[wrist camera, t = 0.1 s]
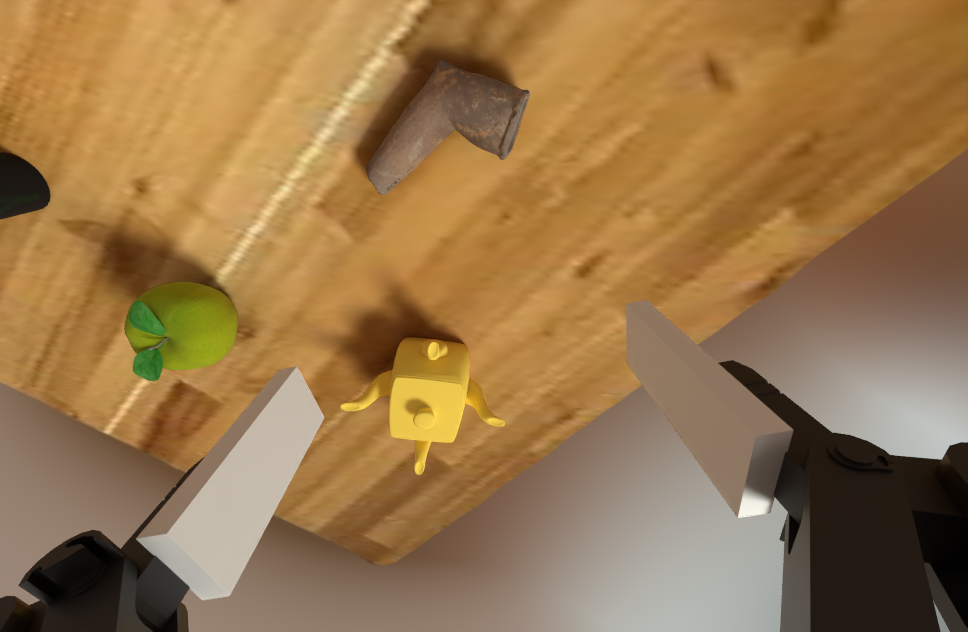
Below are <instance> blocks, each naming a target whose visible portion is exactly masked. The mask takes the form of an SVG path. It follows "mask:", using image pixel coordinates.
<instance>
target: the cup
mask: <svg viewBox="0 0 968 632" xmlns="http://www.w3.org/2000/svg"><path fill="white" fill-rule="evenodd" d="M49 201H50V190H49V187H48V185H47V182H46V181H45V179H44V178H43V176H42V175H41V174H40V173H39V171H38V170H37V169H36V168H35V167H33V166H32V165H31V164H30V163H28V162H27V161H25V160H24V159H22V158H20V157H18V156H15V155H13V154H8V153H1V152H0V219H4V218H8V217H12V216H16V215H20V214H24V213H28V212H32V211H36V210H40V209H43V208H44V207H46V206H47V205H48V203H49Z"/></svg>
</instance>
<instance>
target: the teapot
mask: <svg viewBox="0 0 968 632" xmlns="http://www.w3.org/2000/svg"><path fill="white" fill-rule="evenodd" d="M469 372H470V355H469V350H468V348H467V346H466V345H465V344H462V343H456V342H450V341H443V340H436V339H427V338H416V337H406V338H404V339H403V340H402V342H401V343H400V344H399V347H398V349H397V353H396V357H395V361H394V366H393V370H390V371H386V372H384V373H382V374H380V375H379V376H377V377H376V378H375V379H374V380H373V382H372V383H371V384H370V386H369V387H368V389H367V390H366V391H365V392H364V394H363V395H362V396H360V397H359V398H358V399H356V400H354V401H351V402H347V403H344V404H342V405H341V406H340V408H341V409H342V410H346V411H357V410H361V409H364V408H366V407H367V406H369V405H370V404H371V403H372V402H374V401H375V400H376V399H378V398H380V397H383V396H389V428H390V434H391V436H392V437H395V438H402V439H411V440H414V441H415V472H416V474H418V475H420V474H422V472H423V470H424V467H425V461H426V456H427V452H428V449H429V447H430V444H431V442H453V441H454V439H455V437H456V434H457V431H458V428H459V424H460V421H461V417H462V414H463V410H464V406H465V403H466V404H469V405H471V406H472V407H474V408H475V409H476V411H477V412H478V414H479V416H480V417H481V419H482V420H483V421H485V422H486V423H488V424H490V425H494V426H504V425H505V422H504V421H503V420H501V419H500V418H498V417H496V416H495V415H494V414H493V413H492V412H491V411H490V410H489V408H488V405H487V402H486V398H485V395H484V392H483V390H482V388H481V387H480V386H479V385H478V384H477V383H476V382H475V381H473V380H471V379H470V378H469Z"/></svg>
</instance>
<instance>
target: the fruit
mask: <svg viewBox="0 0 968 632" xmlns="http://www.w3.org/2000/svg"><path fill="white" fill-rule="evenodd" d="M237 325H238V313H237V310H236V308H235V306H234V305H233V303H232V302H231V301H230V299H229V298H228V297H227V296H226V295H225V294H223V293H222V292H220V291H218V290H216V289H214V288H212V287H209V286H206V285H202V284H198V283H193V282H172V283H166V284H162V285H159V286H156V287H153V288H151V289H149V290H147V291H146V292H144V293H143V294H141V295H140V296H139V297H138V298H137V299H136V300H135V301H134V302H133V303H132V305H131V307H130V309H129V311H128V314H127V317H126V322H125V328H124V329H125V334H126V336H127V338H128V340H129V342H130V344H131V346H132V348H133V350H134V351H135V352H136V353H137V355H136V357H135V359H134V363H133V372H134V373H135V374H136V375H138V376H140V377H142V378H144V379H146V380H149V381H156V380H158V379H159V377H160V375H161V371H162V368H165V369H169V370H187V369H196V368H201V367H206V366H209V365H212V364H214V363H216V362H218V361H219V360H221V359H222V358H223V357H224V356H225V355H226V354H227V353H228V352H229V350H230V349H231V347H232V345H233V344H234V341H235V338H236V333H237Z"/></svg>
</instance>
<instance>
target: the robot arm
mask: <svg viewBox="0 0 968 632" xmlns="http://www.w3.org/2000/svg"><path fill="white" fill-rule="evenodd" d="M626 326H627V364H628V365H629V367H630V368H631V369H632V371H633V372H634V374H635V375H636V376H637V378H638V379H639V381H640V382H641V383H642V385H643V386H644V388H645V389H646V390H647V392H648V393H649V394H650V396H651V397H652V399H653V400H654V402H655V403H656V404H657V406H658V407H659V409H660V410H661V411H662V413H663V414H664V416H665V417H666V418H667V420H668V421H669V423H670V424H671V425H672V427H673V428H674V429H675V431H676V432H677V433H678V435H679V436H680V438H681V439H682V441H683V442H684V444H685V445H686V446H687V448H688V449H689V450H690V452H691V453H692V455H693V456H694V457H695V459H696V460H697V462H698V463H699V464H700V466H701V467H702V469H703V470H704V471H705V473H706V474H707V476H708V477H709V478H710V480H711V481H712V482H713V484H714V485H715V487H716V488H717V490H718V491H719V492H720V494H721V495H722V497H723V498H724V499H725V501H726V502H727V503H728V505H729V506H730V508H731V509H732V510H733V512H734V513H735V515H736V516H737V518H741V517H748V516H753V515H761V514H767V513H770V512H771V508H772V505H773V501H774V497H775V498H776V499H777V500H778V501H779V502H780V503H781V504H782V506H783V507H784V508H785V509H786V510H787V511H788V515H787V517H786V521H785V524H784V527H783V530H782V533H781V536H780V540H782V541H784V542H785V543H784V564H783V584H782V605H781V606H782V607H781V627H780V632H940V628H939V624H938V620H937V616H936V611H935V607H934V603H935V604H936V606H937V608H938V610H939V612H940V614H941V616H942V618H943V619H944V621H945V623H946V625H947V627H948V629H949V631H950V632H968V443H962V442H961V443H958V444H954V445H951V446H949V448H948V450H947V452H946V453H945V455H944V457H943V459H942V460H938V459H927V458H916V457H905V456H894V455H889V454H888V453H887V452H886V451H885V450H883V449H881V448H880V447H878V446H876V445H874V444H872V443H870V442H868V441H866V440H863V439H860V438H857V437H854V436H851V435H845V434H839V433H832V432H831V431H829V430H828V429H827V428H826V427H824V426H823V425H822V424H820V423H819V422H818V421H817V420H816V419H814V418H813V417H812V416H811V415H809V414H808V413H807V412H806V411H804V410H803V409H802V408H801V407H799V406H798V405H797V404H796V403H794V402H793V401H792V400H791V399H789V398H788V397H787V396H785V395H784V394H781V393H780V391H779V390H778V389H777V388H775V387H774V386H773V385H772V384H770V383H769V384H768V383H767V380H765V379H764V378H763V377H762V376H760V375H759V374H758V373H757V372H755V371H754V370H753V369H751V368H749V367H747V366H744V365H742V364H740V363H738V362H735V361H733V360H732V361H726V362H720V363H717V362H716V361H715V360H714V359H713V358H712V357H710V356H709V355H708V354H707V353H706V352H705V351H704V350H703V349H701V348H700V347H699V346H698V345H697V344H696V343H695V342H694V341H692V340H691V339H690V338H689V337H688V336H687V335H686V334H684V333H683V332H682V331H681V330H680V329H679V328H678V327H677V326H675V325H674V324H673V323H672V322H671V321H670V320H669V319H667V318H666V317H665V316H664V315H663V314H662V313H661V312H660V311H658V310H657V309H656V308H655V307H654V306H653V305H652V304H651V303H649V302H648V301H647V300H644V301H639V302H633V303H628V304H626ZM323 419H324V416H323V414H322V412H321V410H320V408H319V406H318V405H317V403H316V401H315V399H314V397H313V395H312V393H311V391H310V390H309V388H308V386H307V384H306V382H305V380H304V378H303V376H302V375H301V373H300V371H299V369H298V367H297V366H296V367H290V368H285V369H280V370H278V371H277V372H276V374H275V375H274V376H273V377H272V378H271V380H270V381H269V382H268V383H267V384H266V385H265V387H264V388H263V389H262V390H261V391H260V393H259V394H258V395H257V396H256V397H255V398H254V400H253V401H252V402H251V403H250V404H249V406H248V407H247V408H246V409H245V410H244V411H243V413H242V414H241V415H240V416H239V417H238V419H237V420H236V421H235V422H234V423H233V424H232V426H231V427H230V428H229V429H228V430H227V432H226V433H225V434H224V435H223V436H222V437H221V439H220V440H219V441H218V442H217V443H216V445H215V446H214V447H213V448H212V449H211V450H210V452H209V453H208V454H207V455H206V456H205V457H204V458H202V459H201V460H200V461H199V462H198V463H196V464H195V465H194V466H193V467H191V468H190V469H189V470H188V471H187V473H186V474H185V475H184V476H183V477H182V478H181V480H180V481H179V482H178V483H177V484H176V487H175V488H173V489H172V490H171V491H170V493H168V495H167V496H166V497H165V500H164V501H162V502H161V503H160V504H159V505H158V506H157V507H156V509H155V510H154V511H153V512H152V513H151V514H150V515H149V517H148V518H147V519H146V520H145V521H144V523H143V524H142V525H141V526H140V527H139V528H138V530H137V531H136V532H135V533H134V534H133V535H132V537H131V538H130V539H129V540H128V541H127V542H126V543H125V545H124V546H123V547H122V548H121V549H120V548H119V547H117V546H116V545H115V544H114V543H113V542H112V541H111V540H109V539H108V538H107V537H106V536H105V535H103V534H102V533H101V532H100V531H96V530H91V531H87V532H83V533H81V534H79V535H76V536H74V537H72V538H70V539H69V540H67V541H65V542H63V543H62V544H61V545H59V546H57V547H56V548H54V549H53V550H52V551H50V552H49V553H48V554H46V555H45V556H44V557H43V558H42V559H40V560H39V561H38V562H37V563H36V564H35V565H34V566H33V567H32V568H31V569H30V570H29V571H28V572H27V573H26V574H25V576H24V578H23V579H22V581H21V582H20V584H19V586H20V587H21V588H23V589H24V590H26V591H27V592H29V593H30V594H32V595H33V596H35V597H36V598H38V599H39V600H40V601H38V602H36V603H33V604H31V605H28V604H26V603H24V602H23V601H21V600H20V599H18V598H17V597H15V596H6V597H3V598H0V632H189V631H188V612H187V609H186V607H185V605H184V604H183V603H181V601H182V599H183V598H184V596H185V594H186V593H187V591H188V590H189V588H190V589H191V590H192V591H193V592H194V593H195V594H196V595H197V596H198V597H199V598H200V599H201V600H207V599H214V598H220V597H227V596H230V594H231V592H232V591H233V589H234V587H235V585H236V583H237V581H238V579H239V577H240V575H241V574H242V572H243V570H244V568H245V566H246V564H247V562H248V560H249V559H250V557H251V555H252V553H253V551H254V549H255V547H256V545H257V544H258V541H259V540H260V538H261V536H262V534H263V532H264V530H265V528H266V527H267V525H268V523H269V521H270V519H271V517H272V515H273V513H274V512H275V510H276V508H277V506H278V504H279V502H280V500H281V498H282V496H283V495H284V493H285V491H286V489H287V487H288V485H289V483H290V481H291V480H292V478H293V476H294V474H295V472H296V470H297V468H298V466H299V464H300V463H301V461H302V459H303V457H304V455H305V453H306V451H307V449H308V448H309V446H310V444H311V442H312V440H313V438H314V436H315V434H316V433H317V431H318V429H319V427H320V425H321V423H322V421H323ZM933 601H934V603H933Z"/></svg>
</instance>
